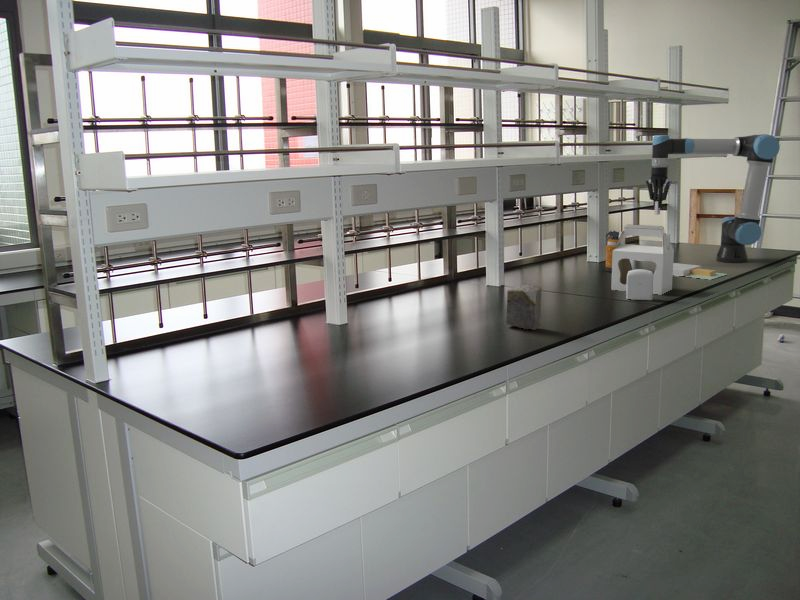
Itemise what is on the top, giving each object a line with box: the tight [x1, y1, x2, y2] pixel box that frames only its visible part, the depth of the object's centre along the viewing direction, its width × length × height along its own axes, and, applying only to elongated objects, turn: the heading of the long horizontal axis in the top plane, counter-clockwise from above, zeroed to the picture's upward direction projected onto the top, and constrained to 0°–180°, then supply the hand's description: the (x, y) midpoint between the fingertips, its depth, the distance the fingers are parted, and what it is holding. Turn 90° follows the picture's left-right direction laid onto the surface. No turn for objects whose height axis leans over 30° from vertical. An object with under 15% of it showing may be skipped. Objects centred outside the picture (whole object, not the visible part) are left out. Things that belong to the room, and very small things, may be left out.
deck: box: [654, 262, 702, 277], centre depth 353 cm, size 18×14×3 cm
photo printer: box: [625, 268, 654, 301], centre depth 295 cm, size 10×4×12 cm, turn 72°
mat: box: [684, 272, 728, 281], centre depth 343 cm, size 18×12×1 cm, turn 133°
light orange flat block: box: [691, 268, 717, 276], centre depth 345 cm, size 9×6×2 cm, turn 42°
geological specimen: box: [505, 284, 542, 331], centre depth 254 cm, size 11×6×15 cm, turn 56°
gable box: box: [610, 224, 675, 296], centre depth 312 cm, size 22×13×28 cm, turn 52°
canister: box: [604, 230, 620, 273], centre depth 360 cm, size 9×11×20 cm
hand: (657, 214), depth 368 cm, fingers closed
